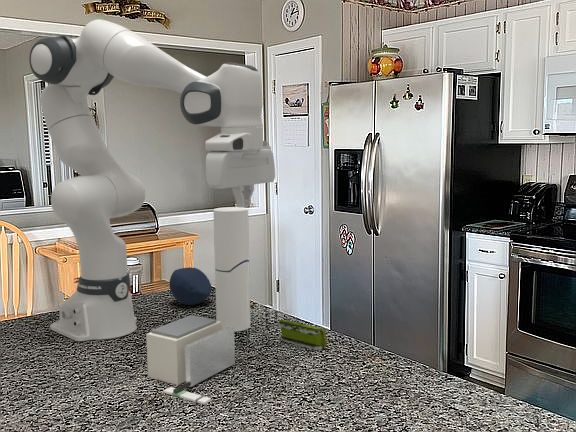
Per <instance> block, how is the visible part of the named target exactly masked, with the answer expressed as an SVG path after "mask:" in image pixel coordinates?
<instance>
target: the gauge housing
mask: <svg viewBox="0 0 576 432" xmlns="http://www.w3.org/2000/svg"><path fill="white" fill-rule="evenodd" d="M220 330H222V327H221V322H220V321H216V319H213V318H209V317H204V316H200V315H199V316H198V315H194V314H190V315H187V316H185V317H182V318H180V319H177V320H174V321H172V322H170V323H167V324H166V323H165V324H164V325H161V326H158V327H156V328H154V329H151V331H150V332H148V333H146V334H145V335H146V336H145V337H146V359H147V360H146V362H147V363H146V364H147V377H148V378H151V379H154V380H157V381H161V382H164V383H168V384H172V385H176V386H179V385H181V384H184V383H186V366H185V346H186V345H188V344H190V343H193V342H195V341H197V340H199V339H202V338H204V337H206V336H208V335H211V334H213V333H215V332H217V331H220ZM176 388H177V387H172V386H170V387H167V388H165V389H164V390H163V391H162V392H163V393H164V394H167V395H171V396H172V397H176V398H180V399H184V400H187V401H190V402H195V403H197V404H202V405H207V404H208V403H209V402H211V401H212V398H211V397H207V396H205V395H201V394H196V393H193V392H189V391H187V390H185V389H183V390H181V391H179V392H178V393H173V390H174V389H176Z"/></svg>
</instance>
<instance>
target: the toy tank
mask: <svg viewBox="0 0 576 432" xmlns="http://www.w3.org/2000/svg"><path fill="white" fill-rule="evenodd" d="M267 324H271V325H275V326H279V328H280V333H281V336H280V340H281V339H282V340H283V341H285V342H288V343H287V344H289V343H292V344H291V345H293V344H295V345H294V346H297V345H299V346H298V347H300V346H302V347H301V348H304V347H306V349H308V348H310V349H309V350H312V349H317V350H316V351H322V350H324V349H326V347H328V342H327V333H326V328H325V327H323V328H322V327H318V326H314V325H309V324H307V323H302V322H299V321H296V322H295V321H291V320H288V319H287V320H285V319H279V320H278V323H273V322H270V321H267ZM282 340H281V341H282ZM283 341H282V342H283ZM285 342H284V343H285Z"/></svg>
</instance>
